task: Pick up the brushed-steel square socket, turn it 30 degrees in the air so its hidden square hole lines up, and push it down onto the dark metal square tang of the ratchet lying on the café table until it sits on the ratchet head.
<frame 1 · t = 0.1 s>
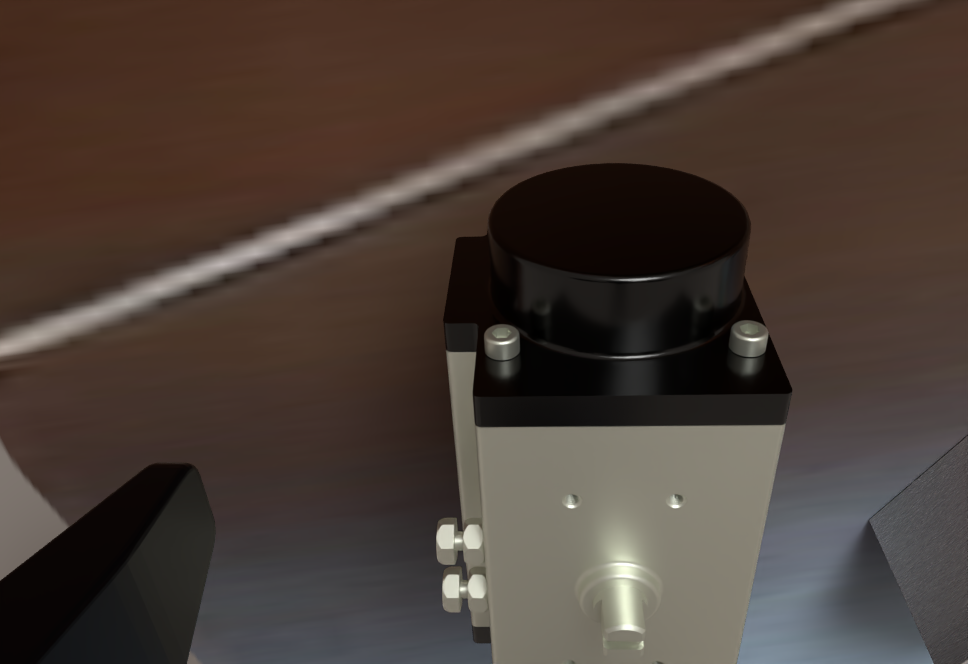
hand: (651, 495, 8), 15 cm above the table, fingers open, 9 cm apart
pneumatic valve: (569, 273, 24), on the table
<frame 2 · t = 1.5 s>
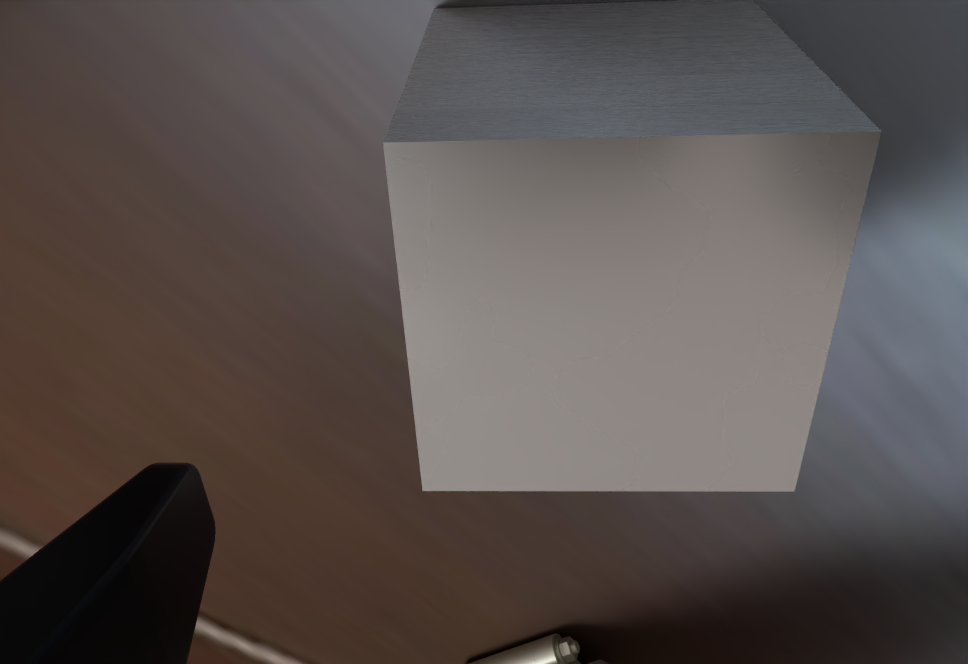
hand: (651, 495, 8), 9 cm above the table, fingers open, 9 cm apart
socket: (585, 152, 15), on the table
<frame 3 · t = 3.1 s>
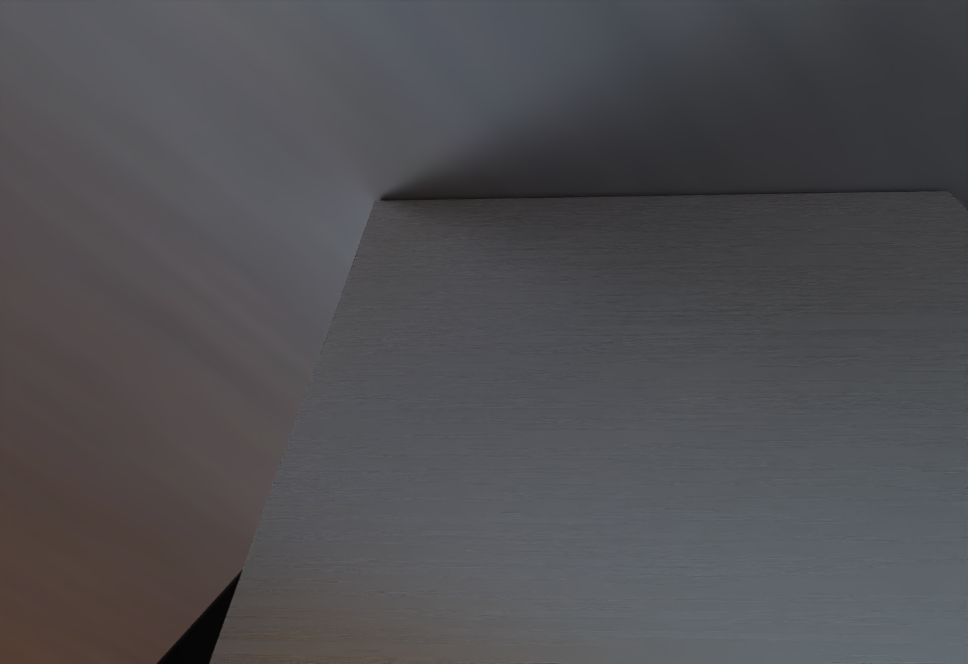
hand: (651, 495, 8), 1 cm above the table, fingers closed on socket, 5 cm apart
socket: (637, 414, 9), on the table, touching gripper
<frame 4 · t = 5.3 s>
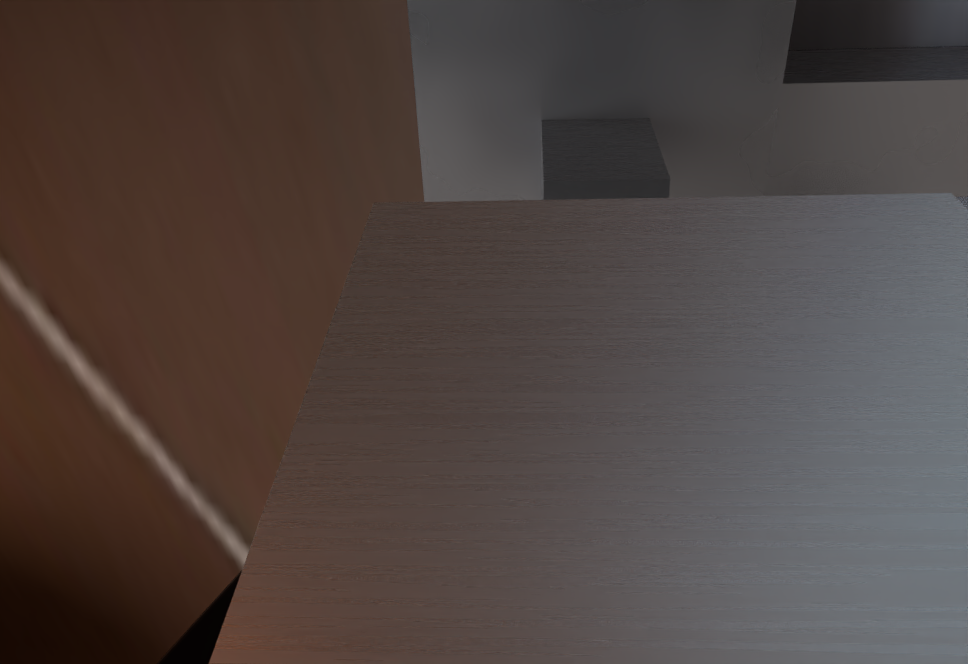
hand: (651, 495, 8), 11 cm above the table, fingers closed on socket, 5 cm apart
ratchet: (583, 110, 17), on the table
socket: (637, 417, 9), point 10 cm above the table, touching gripper
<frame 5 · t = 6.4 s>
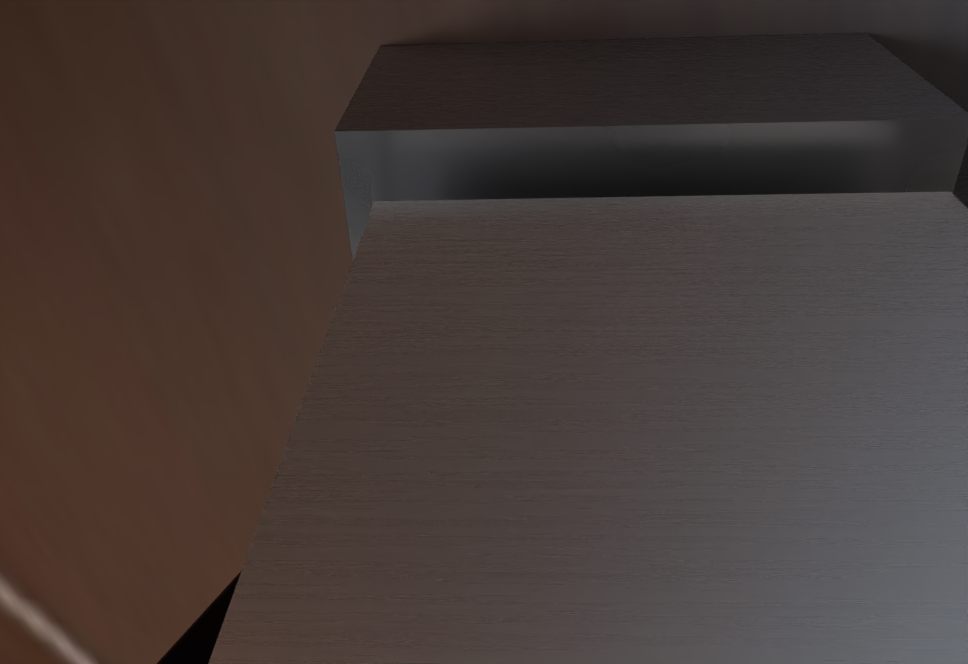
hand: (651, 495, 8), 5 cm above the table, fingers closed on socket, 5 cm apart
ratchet: (607, 251, 12), on the table
socket: (637, 415, 9), point 4 cm above the table, touching gripper
when the fingers open (5 cm above the table, at t = 7.3 s): socket stays where it is, resting on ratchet.
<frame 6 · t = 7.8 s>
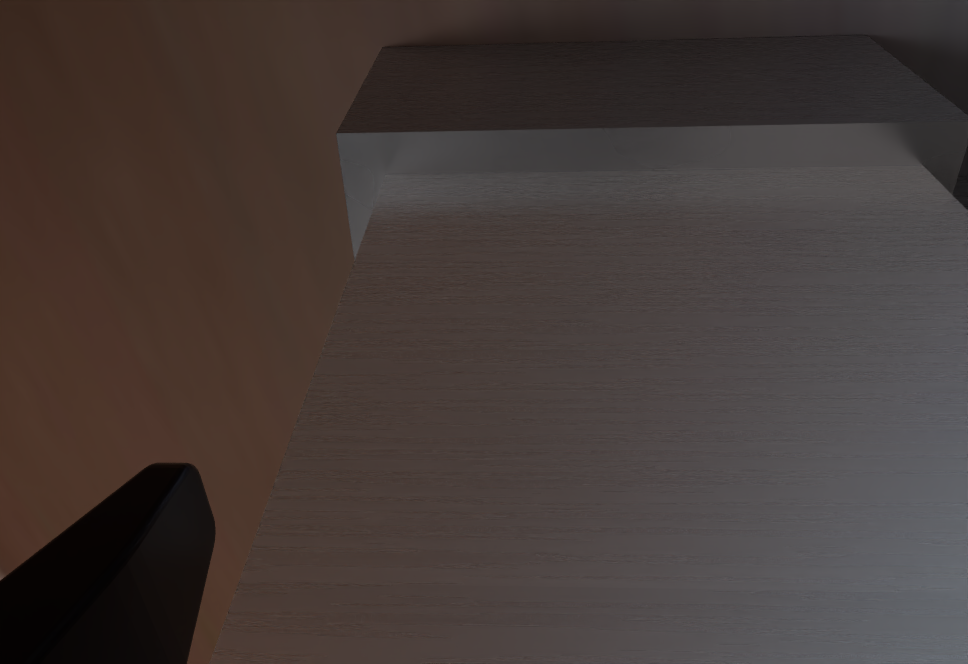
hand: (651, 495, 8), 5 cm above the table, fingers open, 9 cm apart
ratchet: (608, 252, 12), on the table, touching socket
socket: (631, 380, 9), point 3 cm above the table, touching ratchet
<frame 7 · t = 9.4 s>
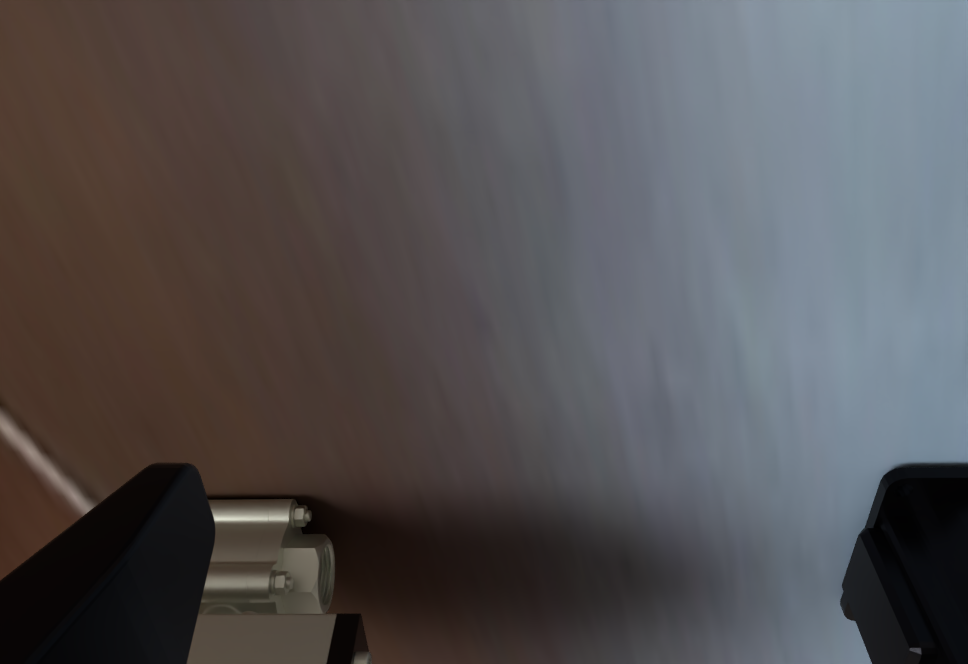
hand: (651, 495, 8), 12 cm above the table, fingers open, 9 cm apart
pneumatic valve: (259, 535, 26), on the table
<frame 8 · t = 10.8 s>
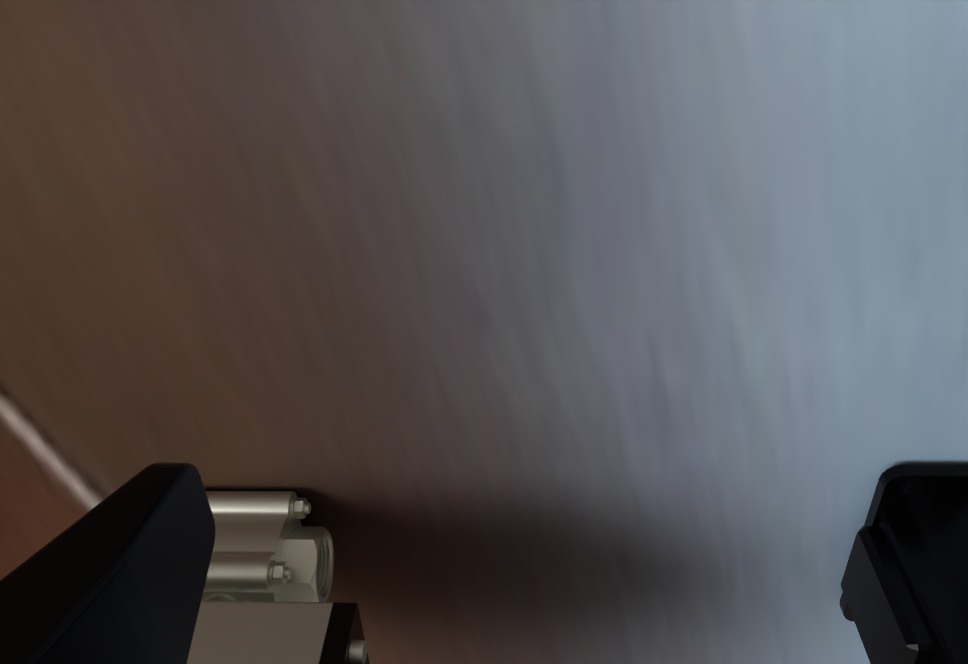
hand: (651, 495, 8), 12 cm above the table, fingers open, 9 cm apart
pneumatic valve: (259, 528, 27), on the table
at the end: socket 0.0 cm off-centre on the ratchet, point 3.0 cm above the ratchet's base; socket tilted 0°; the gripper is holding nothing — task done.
